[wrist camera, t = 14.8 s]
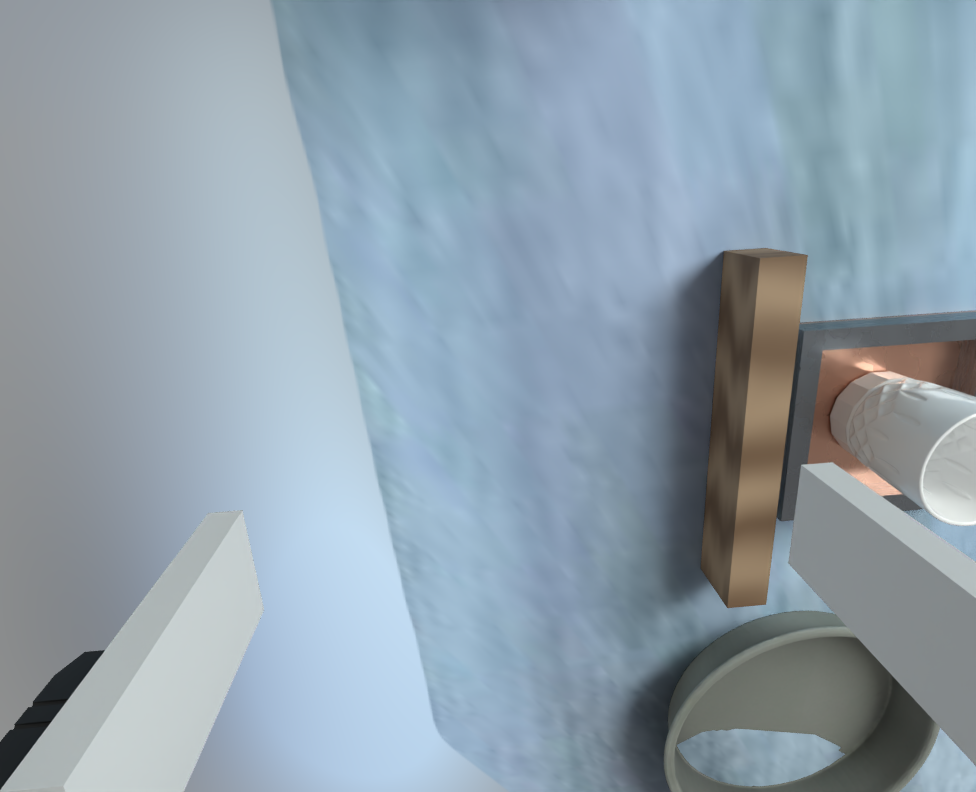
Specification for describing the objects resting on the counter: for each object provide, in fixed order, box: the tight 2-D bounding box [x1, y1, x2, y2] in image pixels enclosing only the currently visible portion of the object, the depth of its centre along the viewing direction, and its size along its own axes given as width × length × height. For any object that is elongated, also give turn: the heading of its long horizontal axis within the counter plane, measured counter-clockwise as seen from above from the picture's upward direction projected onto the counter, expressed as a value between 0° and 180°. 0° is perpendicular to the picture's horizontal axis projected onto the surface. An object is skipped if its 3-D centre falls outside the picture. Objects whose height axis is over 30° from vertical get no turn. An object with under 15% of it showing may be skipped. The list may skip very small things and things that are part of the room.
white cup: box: [830, 371, 976, 526], centre depth 40 cm, size 8×8×10 cm
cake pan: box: [664, 611, 940, 792], centre depth 53 cm, size 25×25×4 cm
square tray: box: [776, 310, 976, 521], centre depth 44 cm, size 15×15×2 cm
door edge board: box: [701, 248, 808, 608], centre depth 43 cm, size 26×3×5 cm, turn 3°
